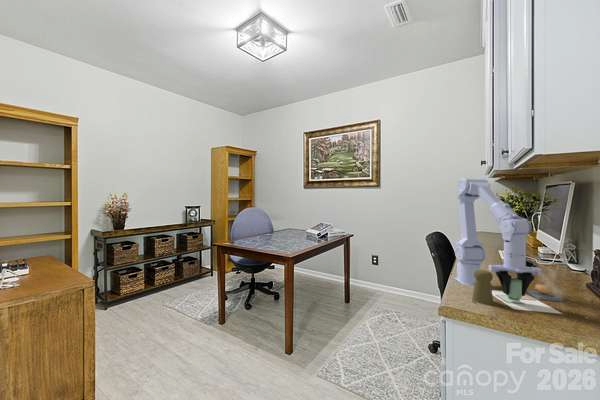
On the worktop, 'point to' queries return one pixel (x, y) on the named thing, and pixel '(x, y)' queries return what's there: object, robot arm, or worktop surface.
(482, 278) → the olive brown cylinder
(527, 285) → the robot arm
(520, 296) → the green cylinder
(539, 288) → the button
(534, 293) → the button pad
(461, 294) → the worktop surface
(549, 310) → the picture card
